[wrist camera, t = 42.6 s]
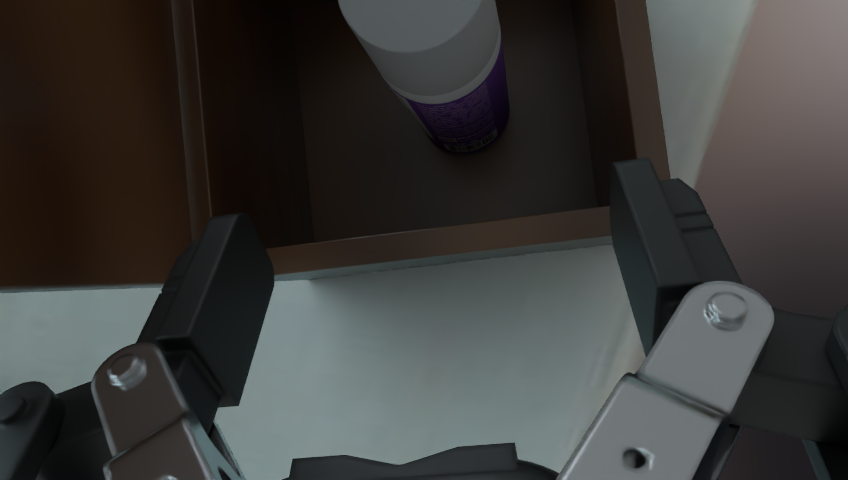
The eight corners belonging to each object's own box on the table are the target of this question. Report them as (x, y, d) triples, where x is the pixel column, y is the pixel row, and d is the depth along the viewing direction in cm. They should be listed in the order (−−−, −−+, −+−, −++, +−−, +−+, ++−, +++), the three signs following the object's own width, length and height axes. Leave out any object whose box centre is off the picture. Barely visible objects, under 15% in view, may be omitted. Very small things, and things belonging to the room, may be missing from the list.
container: (523, 85, 32) (519, -77, 17) (489, 169, 32) (454, 80, 17) (441, 56, 33) (367, -123, 18) (407, 138, 33) (307, 27, 18)
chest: (580, -54, 33) (612, -238, 21) (620, 243, 32) (678, 227, 20) (279, 3, 35) (156, -132, 23) (307, 279, 34) (192, 285, 22)
